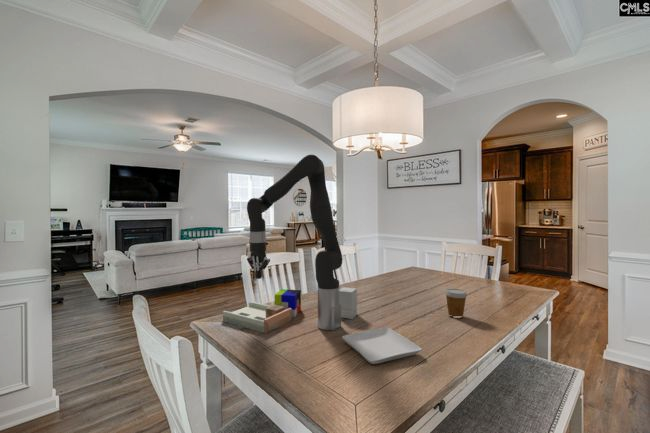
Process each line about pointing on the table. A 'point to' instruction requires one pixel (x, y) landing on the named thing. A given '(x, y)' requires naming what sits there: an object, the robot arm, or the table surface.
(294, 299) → the puzzle toy
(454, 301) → the disposable coffee cup
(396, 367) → the table surface
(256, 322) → the box
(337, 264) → the robot arm
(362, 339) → the salad plate
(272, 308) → the walnut block
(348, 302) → the supplement box
